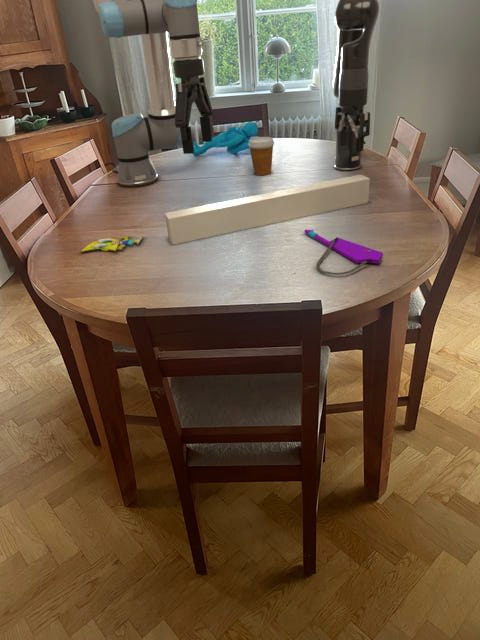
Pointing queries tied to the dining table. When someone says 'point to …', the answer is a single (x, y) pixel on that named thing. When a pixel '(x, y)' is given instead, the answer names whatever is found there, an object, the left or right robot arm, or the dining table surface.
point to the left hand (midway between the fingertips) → (198, 147)
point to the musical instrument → (347, 252)
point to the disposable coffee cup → (261, 154)
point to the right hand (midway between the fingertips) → (350, 148)
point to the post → (266, 208)
